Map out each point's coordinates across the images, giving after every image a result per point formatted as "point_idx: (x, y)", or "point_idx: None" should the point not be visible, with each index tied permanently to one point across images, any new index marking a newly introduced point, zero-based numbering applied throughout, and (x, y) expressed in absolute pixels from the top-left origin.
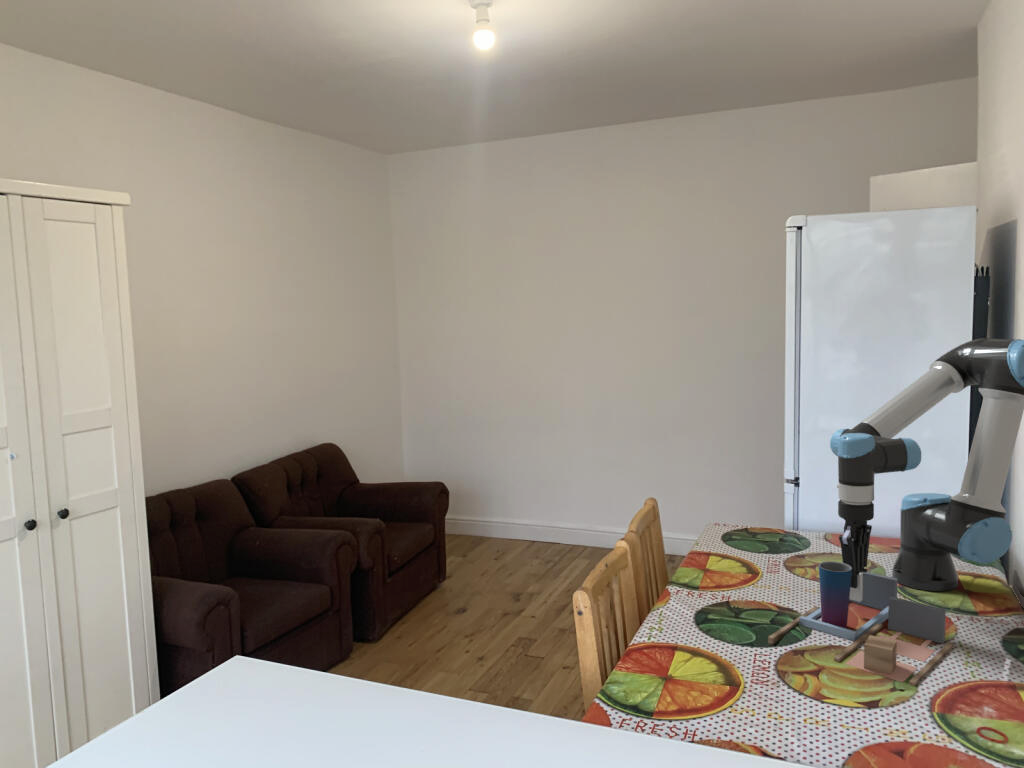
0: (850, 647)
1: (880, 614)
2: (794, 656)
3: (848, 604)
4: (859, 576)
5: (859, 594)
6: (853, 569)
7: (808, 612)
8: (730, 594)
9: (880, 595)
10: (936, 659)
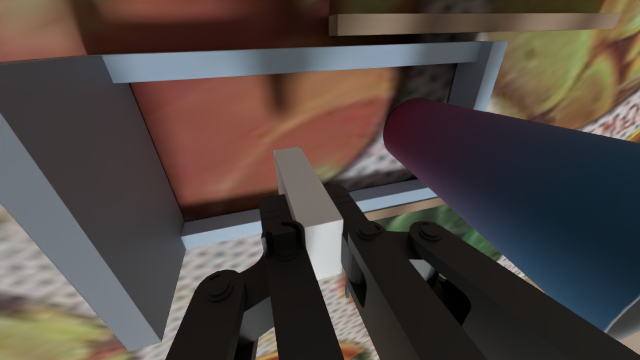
0: (554, 20)
1: (257, 63)
2: (559, 116)
3: (489, 116)
4: (337, 214)
5: (307, 161)
6: (470, 246)
7: (383, 214)
8: (351, 328)
9: (116, 136)
10: None
